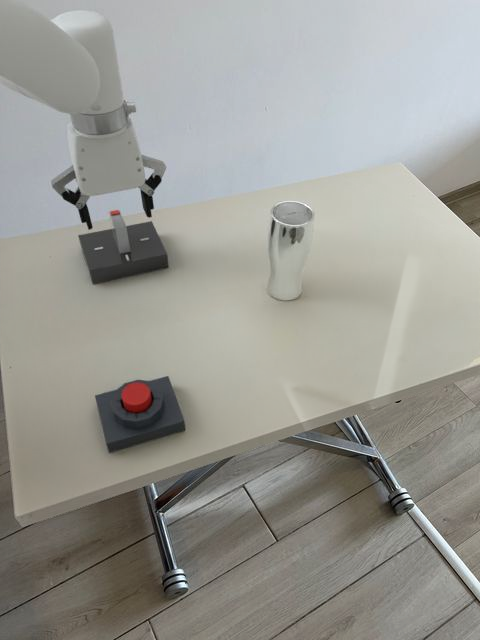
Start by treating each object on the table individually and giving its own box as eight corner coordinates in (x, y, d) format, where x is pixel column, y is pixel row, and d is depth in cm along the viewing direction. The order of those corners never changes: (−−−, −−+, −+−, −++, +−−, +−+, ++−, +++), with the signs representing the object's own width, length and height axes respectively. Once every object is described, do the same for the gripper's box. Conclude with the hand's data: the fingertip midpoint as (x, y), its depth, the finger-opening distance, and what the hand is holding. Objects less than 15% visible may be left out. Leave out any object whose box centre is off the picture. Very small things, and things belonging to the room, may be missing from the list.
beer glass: (258, 296, 88) (262, 220, 77) (271, 271, 92) (277, 195, 81) (298, 307, 87) (309, 231, 76) (309, 281, 91) (321, 205, 80)
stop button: (126, 416, 67) (124, 408, 66) (120, 394, 69) (118, 386, 68) (154, 408, 68) (153, 400, 67) (148, 387, 70) (146, 379, 69)
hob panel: (92, 284, 88) (88, 269, 86) (81, 249, 94) (77, 234, 92) (168, 267, 92) (167, 253, 89) (153, 234, 98) (151, 220, 95)
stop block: (109, 453, 67) (103, 436, 64) (97, 404, 72) (92, 386, 69) (185, 430, 70) (183, 413, 67) (169, 385, 75) (167, 367, 72)
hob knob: (130, 251, 89) (126, 225, 85) (120, 253, 89) (115, 227, 85) (123, 234, 92) (119, 208, 88) (113, 236, 92) (108, 210, 88)
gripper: (152, 96, 79) (163, 196, 92) (30, 112, 74) (60, 216, 87) (166, 119, 74) (176, 221, 87) (37, 137, 69) (68, 243, 82)
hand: (118, 218), depth 87 cm, fingers open, 9 cm apart
